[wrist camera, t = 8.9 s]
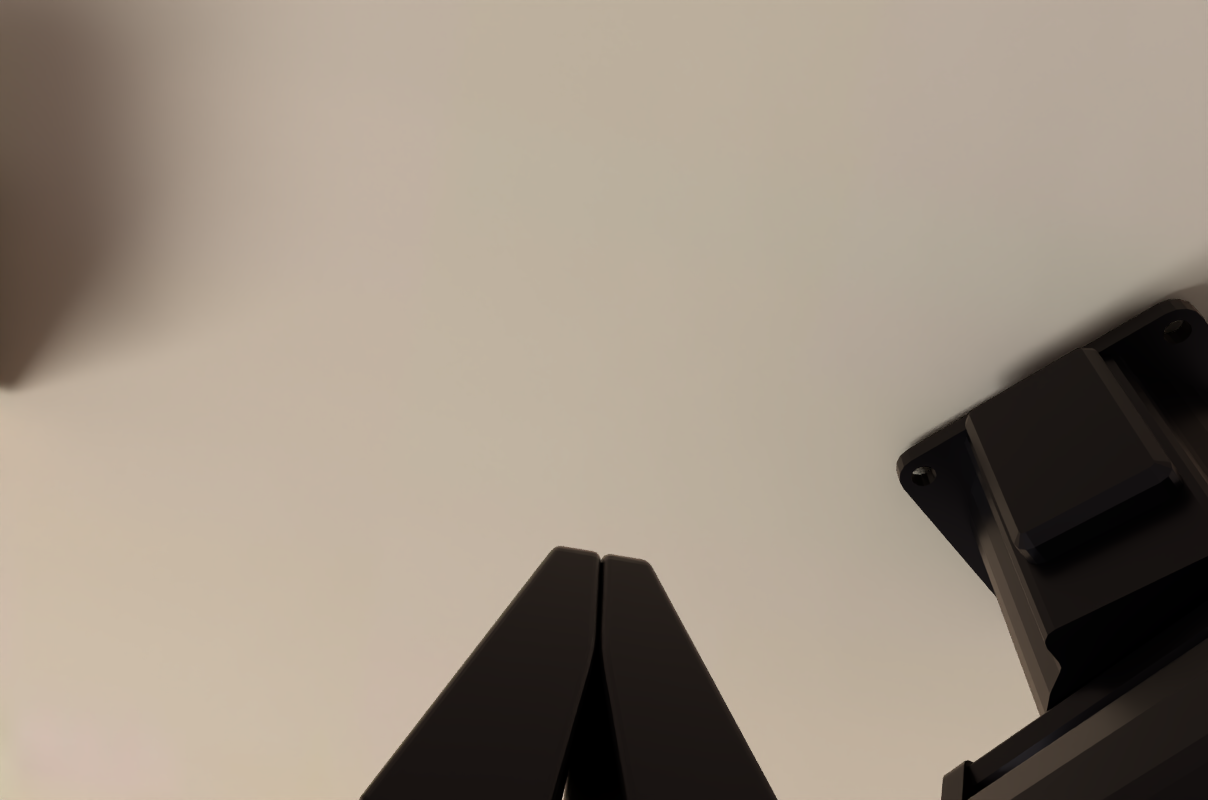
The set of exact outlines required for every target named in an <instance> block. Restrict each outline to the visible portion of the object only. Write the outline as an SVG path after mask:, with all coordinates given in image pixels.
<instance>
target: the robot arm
mask: <svg viewBox="0 0 1208 800" xmlns="http://www.w3.org/2000/svg"><path fill="white" fill-rule="evenodd" d="M1178 320H1183V323H1182V325H1181V327H1180V328H1179V329H1177V330H1176V331H1175V332H1172V333H1169V334H1165V333H1164V330H1165V328H1166V327H1167V326H1168V325H1169V324H1170V323H1172V322H1175V321H1178ZM923 466H927V467H931V469H930V470H929V471H928V472H927V473H924V474H921V475H917V474H913V472H914V471H915V470H916V469H917V468H919V467H923ZM896 471H897V474H898V477H899V481H900V483H901V485H902V487H903V489H904V490H905V491H906V492H907V493H908V494H909V496H910V497H911V498H912V499H913V500H914V501H915V503H916V504H917V505H918V506H919V507H920V508H921V510H922V511H923V512H924V513H925V514H926V515H927V517H928V518H929V519H930V520H931V521H932V522H933V524H934V525H935V526H936V527H937V528H938V529H939V531H940V532H941V533H942V534H943V535H944V536H945V538H946V539H947V540H948V541H949V542H950V544H951V545H952V546H953V547H954V548H955V549H956V551H957V552H958V553H959V554H960V555H961V556H962V558H963V559H964V560H965V561H966V562H967V563H968V565H969V566H970V567H971V568H972V569H973V570H974V572H975V573H976V574H977V575H978V576H979V577H980V579H981V580H982V581H983V582H984V583H985V584H986V586H987V587H988V588H989V589H990V590H991V591H992V593H993V594H994V595H995V596H996V597H997V600H998V603H999V605H1000V608H1001V611H1002V613H1003V616H1004V619H1005V622H1006V624H1007V627H1008V630H1009V633H1010V635H1011V638H1012V641H1013V643H1014V646H1015V649H1016V652H1017V654H1018V657H1019V660H1020V662H1021V665H1022V668H1023V671H1024V673H1025V676H1026V679H1027V682H1028V684H1029V687H1030V690H1031V692H1032V695H1033V698H1034V701H1035V703H1036V706H1037V709H1038V711H1039V714H1040V717H1039V718H1037V719H1036V720H1034V721H1033V722H1031V723H1030V724H1028V725H1027V726H1026V727H1024V728H1023V729H1021V730H1020V731H1018V732H1017V733H1015V734H1014V735H1013V736H1011V737H1010V738H1008V739H1007V740H1005V741H1004V742H1003V743H1001V744H1000V745H998V746H997V747H995V748H994V749H992V750H991V751H990V752H988V753H987V754H985V755H984V756H982V757H981V758H979V759H978V760H977V761H975V762H974V763H973V762H971V761H969V760H967V761H964V762H963V763H962V764H960V765H959V766H957V767H956V768H954V769H953V770H952V771H950V772H949V773H947V774H946V775H944V777H943V784H942V796H941V800H1208V324H1207V323H1206V321H1205V319H1204V318H1203V317H1202V316H1201V314H1200V313H1199V312H1198V311H1197V310H1196V309H1195V308H1194V307H1193V306H1192V305H1191V304H1190V303H1189V302H1187V301H1184V300H1181V299H1172V300H1166V301H1164V302H1161V303H1159V304H1157V305H1155V306H1153V307H1152V308H1150V309H1148V310H1146V311H1145V312H1143V313H1141V314H1140V315H1138V316H1136V317H1134V318H1133V319H1131V320H1129V321H1128V322H1126V323H1124V324H1122V325H1121V326H1119V327H1117V328H1116V329H1114V330H1112V331H1110V332H1109V333H1107V334H1105V335H1104V336H1102V337H1100V338H1098V339H1097V340H1095V341H1093V342H1092V343H1090V344H1088V345H1086V346H1085V347H1083V348H1078V349H1076V350H1074V351H1072V352H1070V353H1069V354H1067V355H1065V356H1064V357H1062V358H1060V359H1058V360H1057V361H1055V362H1053V363H1052V364H1050V365H1048V366H1046V367H1045V368H1043V369H1041V370H1040V371H1038V372H1036V373H1034V374H1033V375H1031V376H1029V377H1028V378H1026V379H1024V380H1022V381H1021V382H1019V383H1017V384H1016V385H1014V386H1012V387H1010V388H1009V389H1007V390H1005V391H1004V392H1002V393H1000V394H998V395H997V396H995V397H993V398H992V399H990V400H988V401H986V402H985V403H983V404H981V405H980V406H978V407H976V408H974V409H973V410H971V411H970V413H969V414H968V415H966V416H965V417H963V418H961V419H959V420H958V421H956V422H954V423H953V424H951V425H949V426H947V427H946V428H944V429H942V430H940V431H939V432H937V433H935V434H934V435H932V436H930V437H928V438H927V439H925V440H923V441H922V442H920V443H918V444H916V445H915V446H913V447H911V448H910V449H908V450H907V451H905V452H904V453H903V454H902V455H901V456H900V457H899V459H898V461H897V466H896ZM564 789H565V792H564ZM563 793H564V800H777V798H776V796H775V794H774V792H773V790H772V788H771V787H770V785H769V783H768V781H767V779H766V777H765V775H764V774H763V772H762V770H761V768H760V766H759V764H758V763H757V761H756V759H755V757H754V755H753V753H752V751H751V750H750V748H749V746H748V744H747V742H746V740H745V738H744V737H743V735H742V733H741V731H740V729H739V727H738V725H737V724H736V722H735V720H734V718H733V716H732V714H731V712H730V711H729V709H728V707H727V705H726V703H725V701H724V699H723V698H722V696H721V694H720V692H719V690H718V688H717V687H716V685H715V683H714V681H713V679H712V677H711V675H710V674H709V672H708V670H707V668H706V666H705V664H704V662H703V661H702V659H701V657H700V655H699V653H698V651H697V649H696V648H695V646H694V644H693V642H692V640H691V638H690V636H689V635H688V633H687V631H686V629H685V627H684V625H683V624H682V622H681V620H680V618H679V616H678V614H677V612H676V611H675V609H674V607H673V605H672V603H671V601H670V599H669V598H668V596H667V594H666V592H665V590H664V588H663V586H662V585H661V583H660V581H659V579H658V577H657V575H656V573H655V572H654V570H653V568H652V566H651V565H650V564H649V563H648V562H647V561H645V560H642V559H636V558H630V557H624V556H618V555H612V554H608V555H605V556H604V557H603V558H602V560H601V559H600V557H599V555H598V554H597V553H596V552H594V551H588V550H582V549H576V548H570V547H564V546H558V547H555V548H554V549H553V550H551V552H550V553H549V554H548V555H547V557H546V558H545V559H544V560H543V562H542V563H541V564H540V566H539V567H538V568H537V569H536V571H535V572H534V573H533V575H532V576H531V577H530V579H529V580H528V581H527V582H526V584H525V585H524V586H523V588H522V589H521V590H520V591H519V593H518V594H517V595H516V597H515V598H514V599H513V600H512V602H511V603H510V604H509V606H508V607H507V608H506V609H505V611H504V612H503V613H502V615H501V616H500V617H499V619H498V620H497V621H496V622H495V624H494V625H493V626H492V628H491V629H490V630H489V631H488V633H487V634H486V635H485V637H484V638H483V639H482V640H481V642H480V643H479V644H478V646H477V647H476V648H475V650H474V651H473V652H472V653H471V655H470V656H469V657H468V659H467V660H466V661H465V662H464V664H463V665H462V666H461V668H460V669H459V670H458V671H457V673H456V674H455V675H454V677H453V678H452V679H451V681H450V682H449V683H448V684H447V686H446V687H445V688H444V690H443V691H442V692H441V693H440V695H439V696H438V697H437V699H436V700H435V701H434V702H433V704H432V705H431V706H430V708H429V709H428V710H427V711H426V713H425V714H424V715H423V717H422V718H421V719H420V721H419V722H418V723H417V724H416V726H415V727H414V728H413V730H412V731H411V732H410V733H409V735H408V736H407V737H406V739H405V740H404V741H403V742H402V744H401V745H400V746H399V748H398V749H397V750H396V752H395V753H394V754H393V755H392V757H391V758H390V759H389V761H388V762H387V763H386V764H385V766H384V767H383V768H382V770H381V771H380V772H379V773H378V775H377V776H376V777H375V779H374V780H373V781H372V783H371V784H370V785H369V786H368V788H367V789H366V790H365V792H364V793H363V794H362V795H361V797H360V799H359V800H562V797H563Z"/></svg>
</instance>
